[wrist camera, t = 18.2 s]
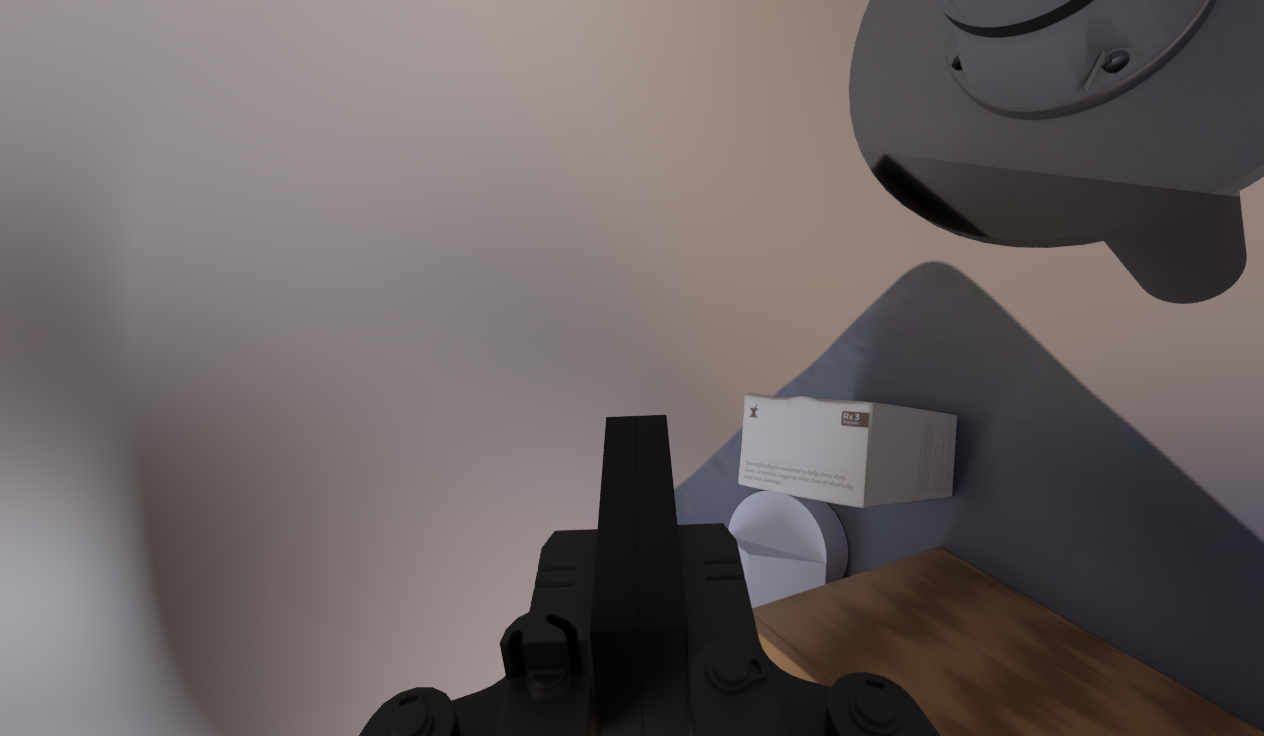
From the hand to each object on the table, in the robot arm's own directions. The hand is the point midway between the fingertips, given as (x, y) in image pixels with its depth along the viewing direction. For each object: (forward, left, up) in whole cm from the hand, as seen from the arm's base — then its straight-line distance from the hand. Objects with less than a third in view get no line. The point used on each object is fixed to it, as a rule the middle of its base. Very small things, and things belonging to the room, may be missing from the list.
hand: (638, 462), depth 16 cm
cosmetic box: (+3, -7, -35) cm, 36 cm away
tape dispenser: (+16, -11, -35) cm, 40 cm away
